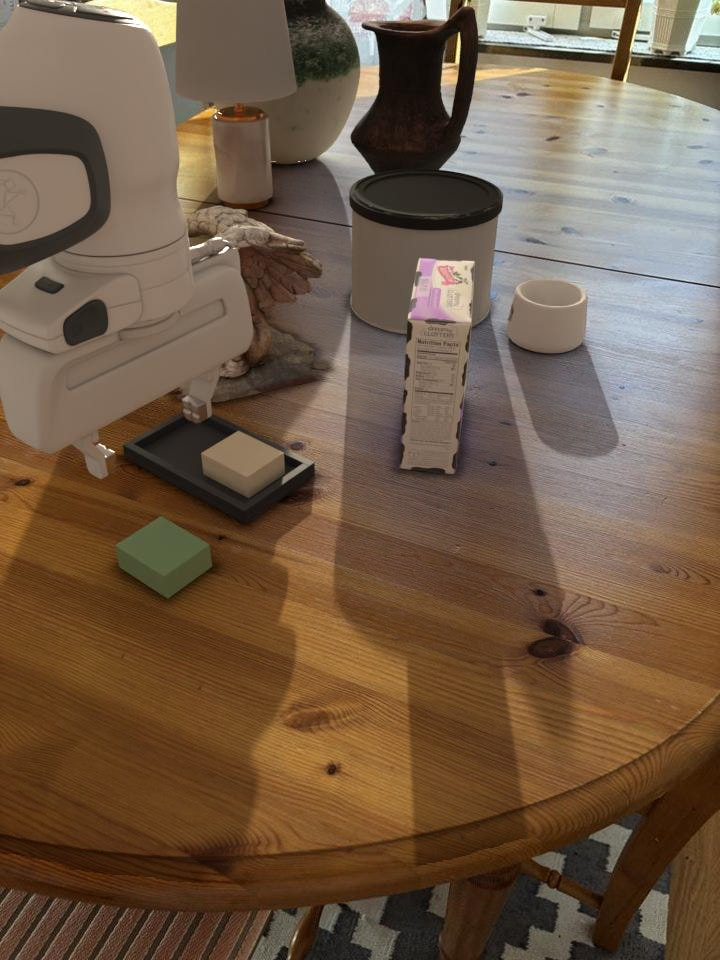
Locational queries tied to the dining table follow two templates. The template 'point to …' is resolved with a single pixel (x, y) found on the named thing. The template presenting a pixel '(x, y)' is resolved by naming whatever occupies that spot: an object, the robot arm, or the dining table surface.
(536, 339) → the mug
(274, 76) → the lamp
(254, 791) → the dining table surface
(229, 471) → the cream pad
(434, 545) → the dining table surface
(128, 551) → the sage pad
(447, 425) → the candy box
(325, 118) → the vase
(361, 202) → the container
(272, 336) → the cherub figurine
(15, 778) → the dining table surface
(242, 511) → the dark serving tray
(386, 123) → the jug
